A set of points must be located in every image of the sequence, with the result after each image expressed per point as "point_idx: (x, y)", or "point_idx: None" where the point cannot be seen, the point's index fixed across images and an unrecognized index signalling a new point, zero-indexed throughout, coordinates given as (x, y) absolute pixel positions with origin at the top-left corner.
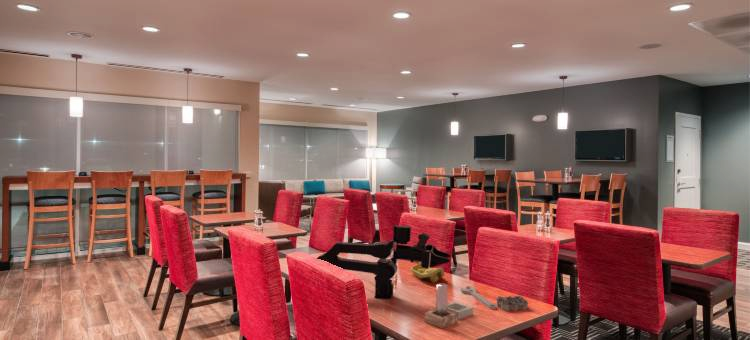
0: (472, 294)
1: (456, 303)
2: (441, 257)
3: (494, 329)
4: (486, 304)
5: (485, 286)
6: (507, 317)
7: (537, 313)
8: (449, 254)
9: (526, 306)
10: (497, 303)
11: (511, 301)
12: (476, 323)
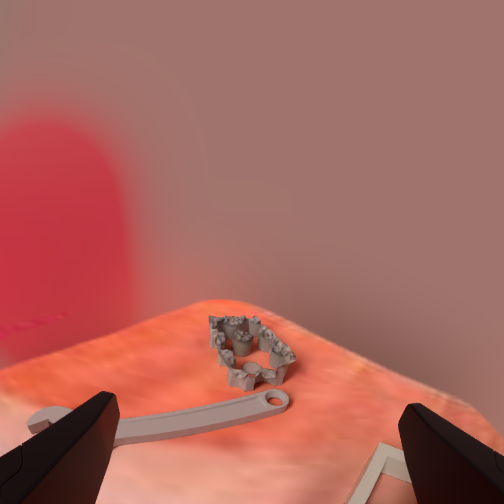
0: (129, 439)
1: (366, 500)
2: (490, 448)
3: (443, 399)
4: (259, 415)
5: (22, 367)
6: (343, 377)
7: (278, 324)
8: (110, 400)
9: (251, 329)
10: (252, 383)
11: (224, 348)
12: None
